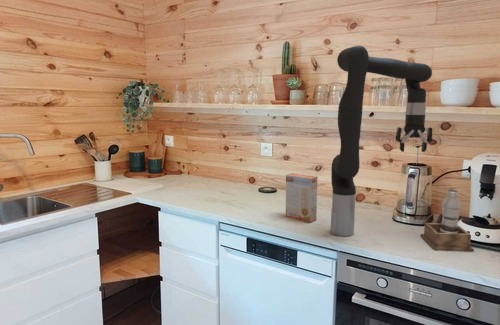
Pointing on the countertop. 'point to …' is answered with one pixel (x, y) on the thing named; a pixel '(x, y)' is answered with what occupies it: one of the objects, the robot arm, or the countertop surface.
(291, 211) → the cracker box
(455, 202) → the plastic bottle
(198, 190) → the countertop surface
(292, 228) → the countertop surface
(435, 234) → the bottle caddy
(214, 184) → the countertop surface
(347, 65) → the robot arm
